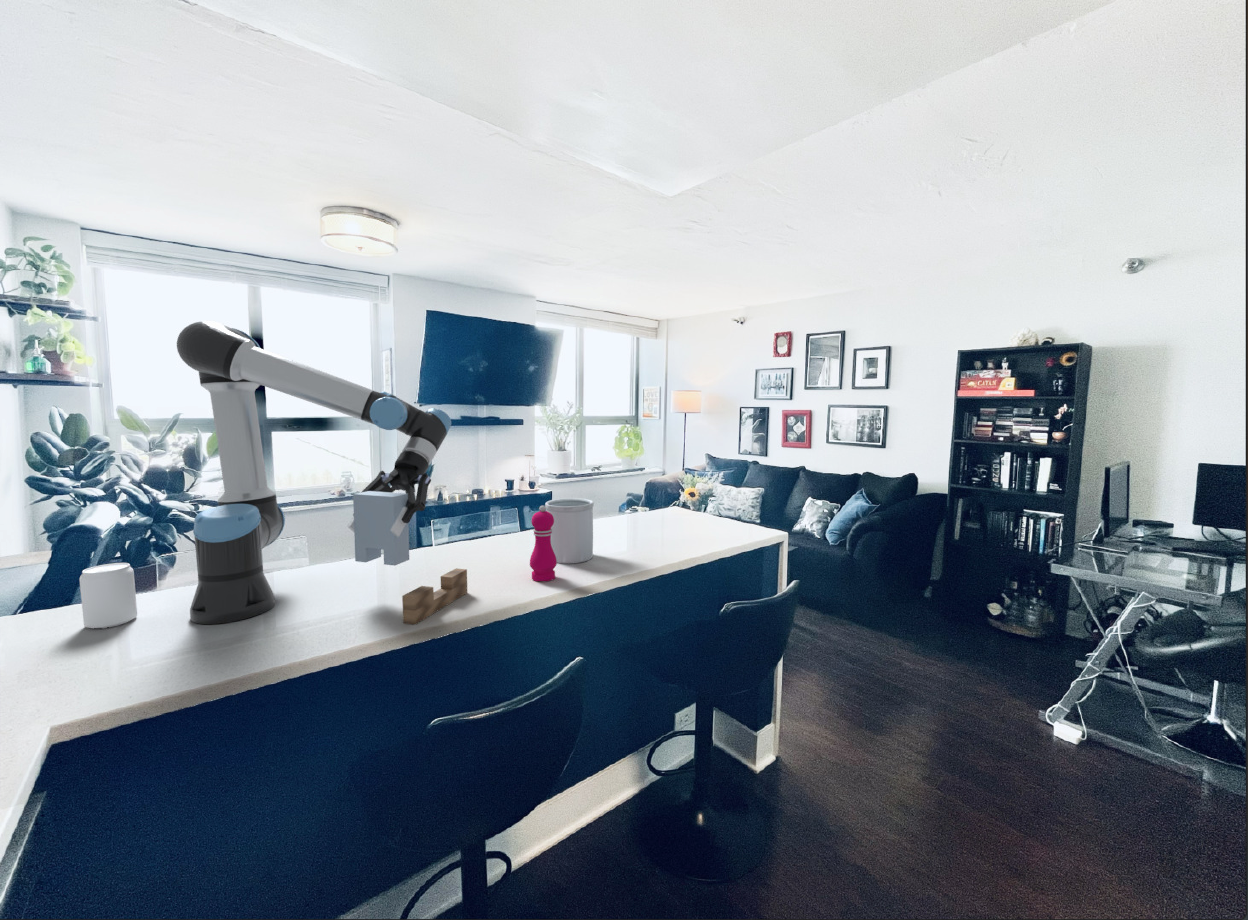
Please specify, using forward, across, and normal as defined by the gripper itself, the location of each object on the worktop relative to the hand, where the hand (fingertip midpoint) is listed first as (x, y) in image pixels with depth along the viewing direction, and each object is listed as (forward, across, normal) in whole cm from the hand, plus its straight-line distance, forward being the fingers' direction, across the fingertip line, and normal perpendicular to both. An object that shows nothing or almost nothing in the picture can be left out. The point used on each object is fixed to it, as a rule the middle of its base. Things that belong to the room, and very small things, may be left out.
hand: (372, 531), depth 119 cm
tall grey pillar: (+3, 0, -7) cm, 8 cm away
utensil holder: (-23, -30, -47) cm, 60 cm away
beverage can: (+30, +46, +4) cm, 55 cm away
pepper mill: (-8, -30, -32) cm, 45 cm away
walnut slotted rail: (+10, -15, -14) cm, 23 cm away
